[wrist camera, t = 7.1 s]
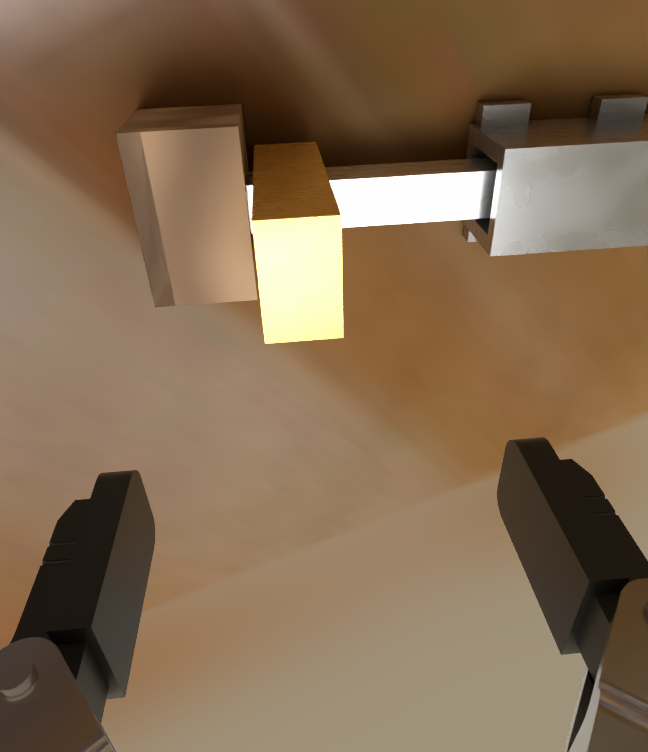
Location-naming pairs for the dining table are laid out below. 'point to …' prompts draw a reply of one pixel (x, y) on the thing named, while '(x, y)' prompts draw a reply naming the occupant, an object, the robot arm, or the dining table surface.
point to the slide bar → (339, 224)
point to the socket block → (191, 202)
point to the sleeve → (563, 177)
